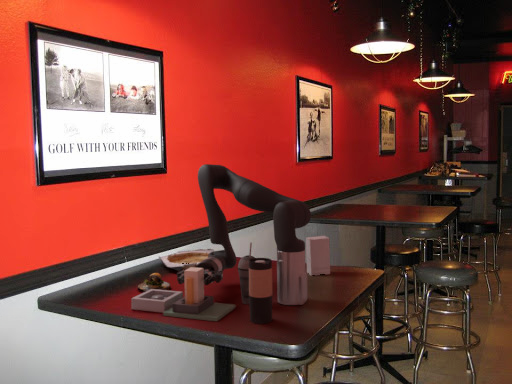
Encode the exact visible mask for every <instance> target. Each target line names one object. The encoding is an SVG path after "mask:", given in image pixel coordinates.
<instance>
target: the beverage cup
mask: <svg viewBox="0 0 512 384" xmlns="http://www.w3.org/2000/svg"><path fill="white" fill-rule="evenodd" d="M252 244H253V243H252V242H250V243H249V253H248V255H244V256H242V257H241V258H240V259H239V261H238V265H237V272H238V276H239V284H240V294H241V295H240V296H241V300H242V301H241V303H242V304H244V305H249V260H250V259H253V258H256V257H255V256H253V255H252V247H253V246H252Z"/></svg>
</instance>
